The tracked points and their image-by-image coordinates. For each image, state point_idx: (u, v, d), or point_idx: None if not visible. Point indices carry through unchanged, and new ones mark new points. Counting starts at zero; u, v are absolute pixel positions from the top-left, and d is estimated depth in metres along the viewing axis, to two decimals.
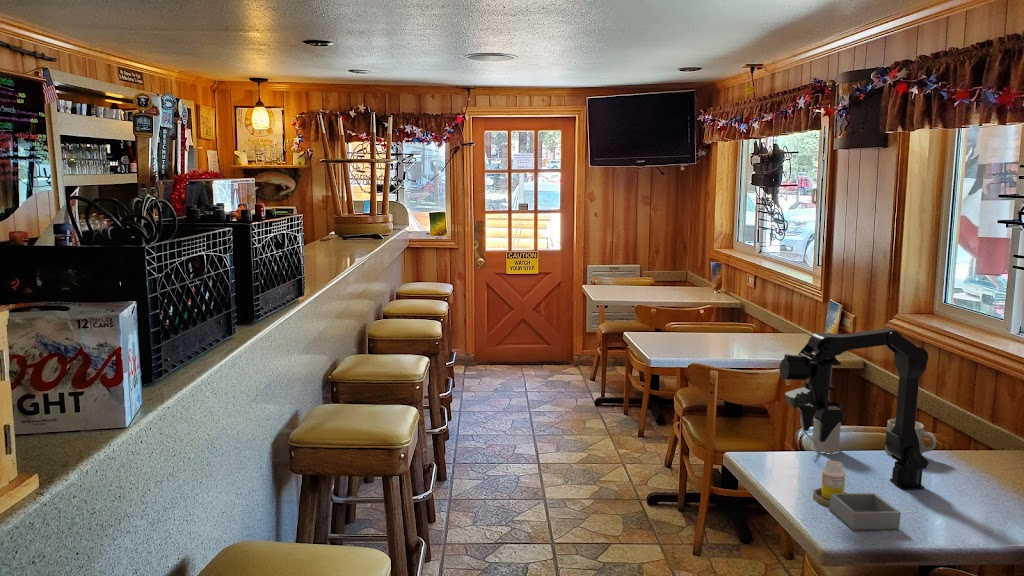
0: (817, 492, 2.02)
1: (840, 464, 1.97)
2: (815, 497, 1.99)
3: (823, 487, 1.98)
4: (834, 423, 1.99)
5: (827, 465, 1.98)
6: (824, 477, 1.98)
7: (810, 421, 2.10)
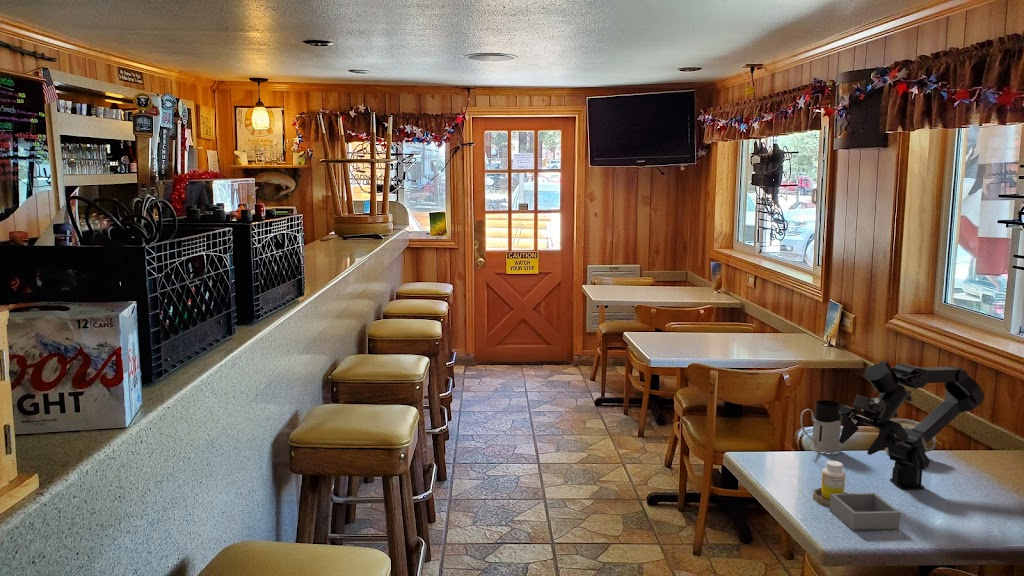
0: (817, 492, 2.02)
1: (840, 464, 1.97)
2: (815, 497, 1.99)
3: (823, 487, 1.98)
4: (890, 443, 1.96)
5: (827, 465, 1.98)
6: (824, 477, 1.98)
7: (848, 437, 2.05)
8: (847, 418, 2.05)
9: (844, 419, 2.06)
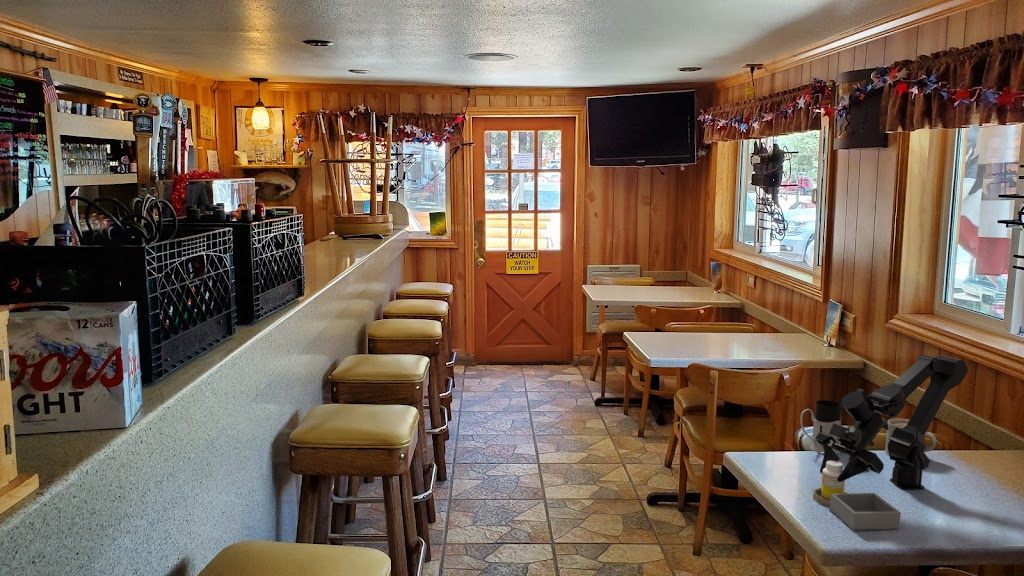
0: (817, 492, 2.02)
1: (840, 464, 1.97)
2: (815, 497, 1.99)
3: (823, 487, 1.98)
4: (860, 470, 1.95)
5: (827, 465, 1.98)
6: (824, 477, 1.98)
7: None
8: (828, 448, 2.02)
9: (825, 449, 2.02)
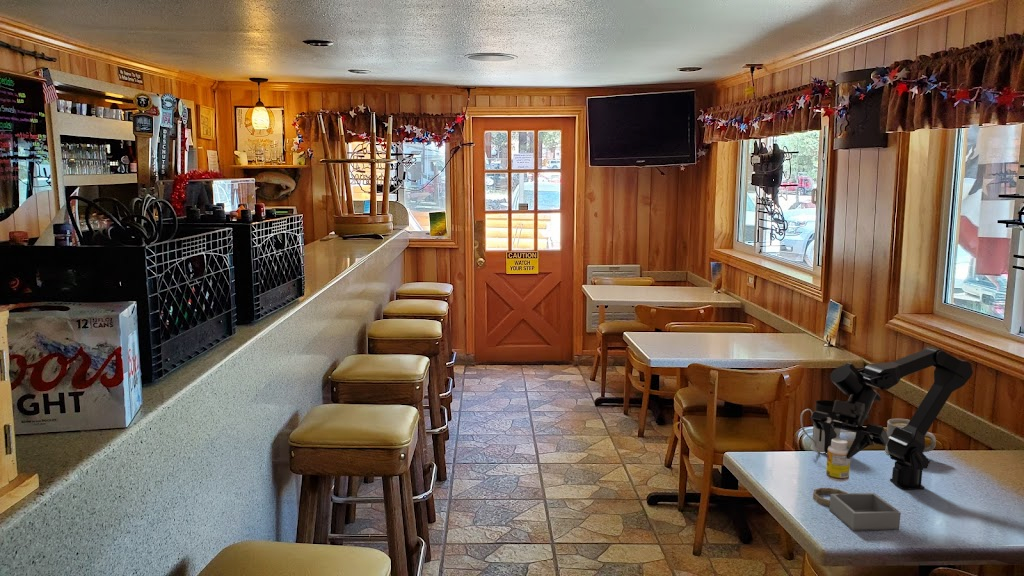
0: (817, 492, 2.02)
1: (845, 441, 1.95)
2: (815, 497, 1.99)
3: (830, 466, 1.95)
4: (865, 445, 1.95)
5: (834, 443, 1.95)
6: (832, 456, 1.95)
7: None
8: (829, 426, 1.99)
9: (825, 427, 2.00)
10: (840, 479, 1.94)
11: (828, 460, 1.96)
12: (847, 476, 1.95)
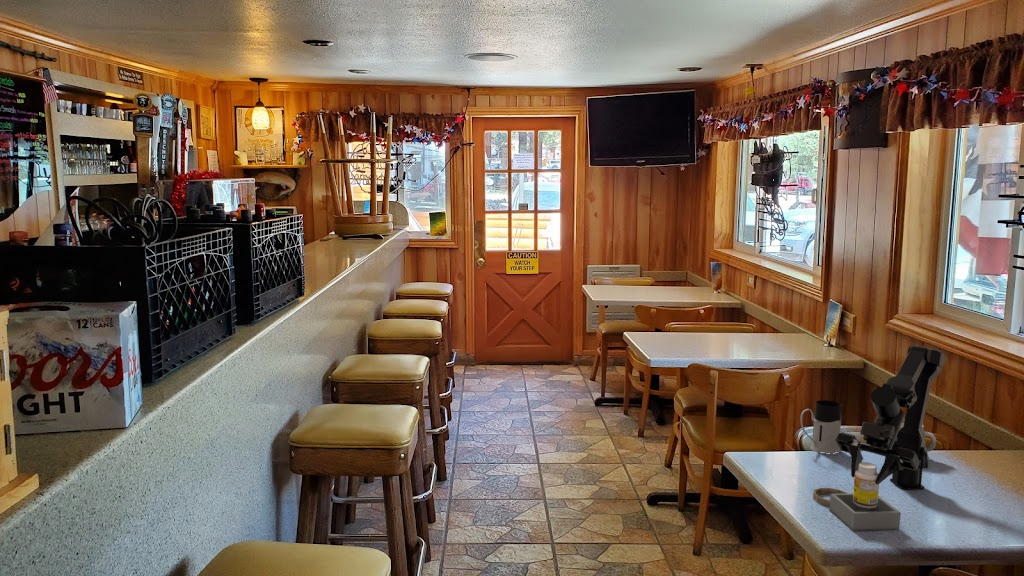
0: (817, 492, 2.02)
1: (874, 465, 1.85)
2: (815, 497, 1.99)
3: (858, 492, 1.85)
4: (894, 469, 1.85)
5: (862, 468, 1.85)
6: (860, 481, 1.85)
7: (857, 469, 1.89)
8: (856, 449, 1.89)
9: (852, 450, 1.90)
10: (868, 506, 1.85)
11: (855, 486, 1.86)
12: (876, 502, 1.85)
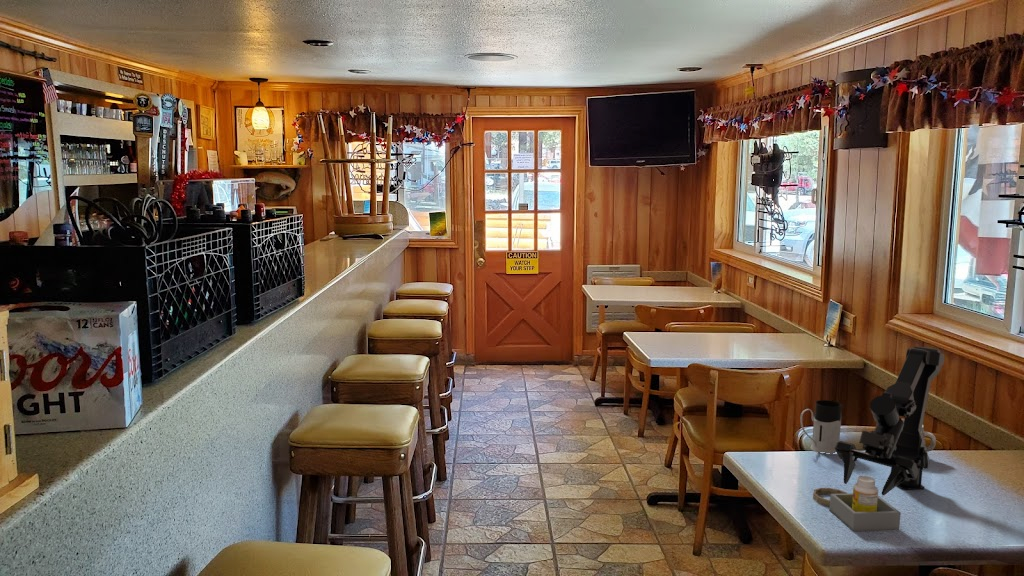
0: (817, 492, 2.02)
1: (872, 479, 1.86)
2: (815, 497, 1.99)
3: (857, 505, 1.86)
4: (900, 480, 1.84)
5: (860, 482, 1.86)
6: (858, 495, 1.85)
7: (849, 476, 1.90)
8: (848, 455, 1.90)
9: (844, 457, 1.91)
10: None
11: (854, 499, 1.87)
12: None
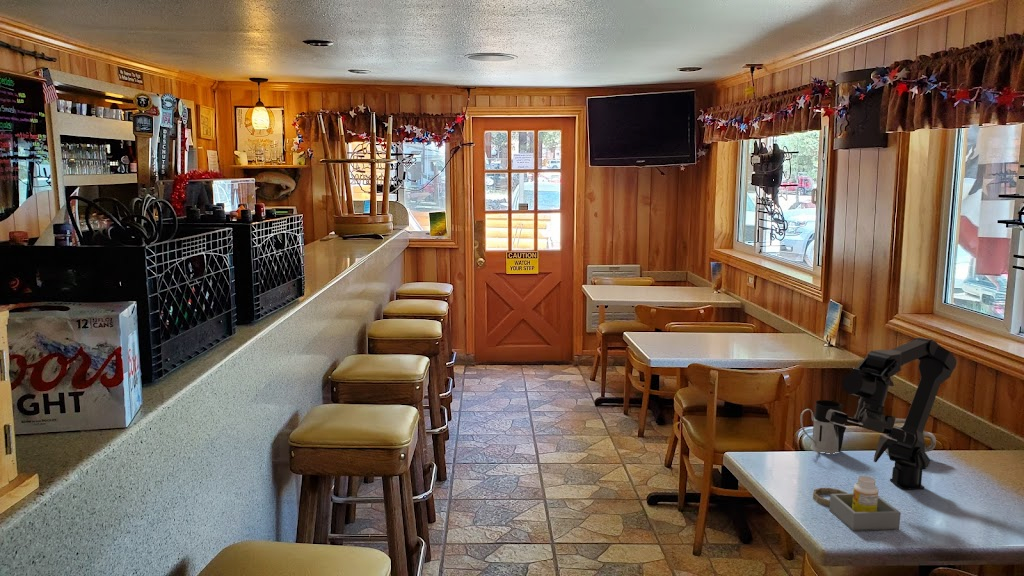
0: (817, 492, 2.02)
1: (873, 479, 1.86)
2: (815, 497, 1.99)
3: (857, 505, 1.86)
4: None
5: (861, 482, 1.86)
6: (858, 495, 1.85)
7: None
8: (844, 429, 1.96)
9: (840, 429, 1.97)
10: None
11: (854, 499, 1.87)
12: None
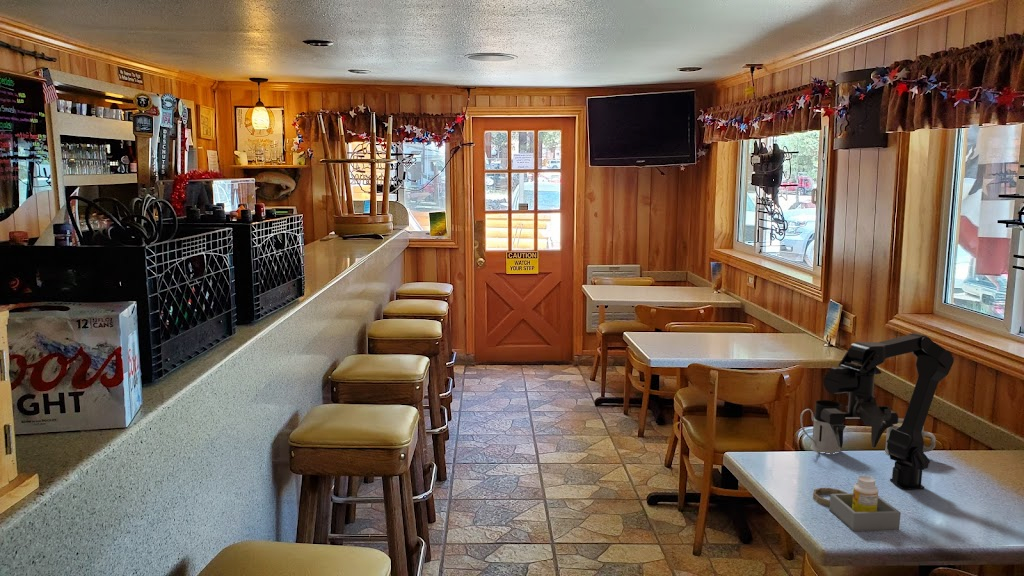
0: (817, 492, 2.02)
1: (873, 479, 1.86)
2: (815, 497, 1.99)
3: (857, 505, 1.86)
4: None
5: (860, 482, 1.86)
6: (858, 495, 1.85)
7: None
8: (844, 427, 1.98)
9: (839, 428, 1.99)
10: None
11: (854, 499, 1.87)
12: None
